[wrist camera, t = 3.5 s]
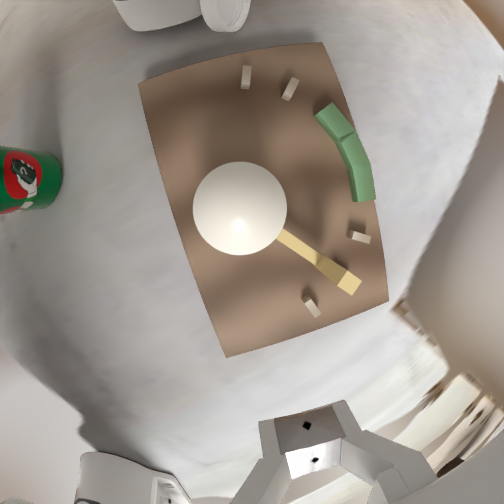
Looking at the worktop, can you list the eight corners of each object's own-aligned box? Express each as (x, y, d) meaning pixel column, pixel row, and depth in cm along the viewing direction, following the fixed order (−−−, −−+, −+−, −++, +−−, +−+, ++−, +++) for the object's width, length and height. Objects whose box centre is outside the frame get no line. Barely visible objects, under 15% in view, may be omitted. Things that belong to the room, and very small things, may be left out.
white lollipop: (187, 216, 19) (170, 226, 13) (226, 155, 18) (226, 139, 12) (304, 290, 21) (330, 324, 15) (341, 235, 20) (381, 251, 14)
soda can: (47, 142, 18) (-46, 125, 6) (74, 177, 19) (-27, 175, 8) (20, 184, 19) (-71, 190, 7) (44, 219, 20) (-51, 244, 8)
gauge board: (378, 293, 24) (394, 305, 21) (225, 345, 24) (226, 364, 21) (315, 52, 19) (326, 37, 16) (144, 91, 18) (133, 78, 15)
